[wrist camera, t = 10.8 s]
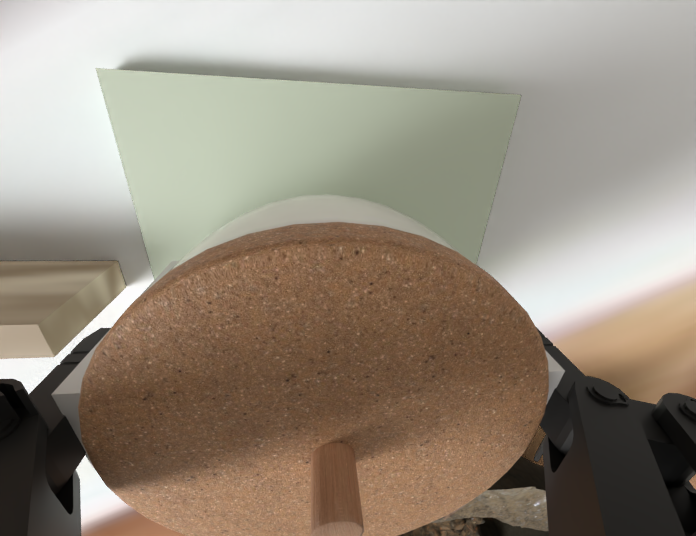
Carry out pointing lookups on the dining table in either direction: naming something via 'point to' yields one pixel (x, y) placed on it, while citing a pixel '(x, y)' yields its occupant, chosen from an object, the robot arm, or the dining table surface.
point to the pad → (302, 151)
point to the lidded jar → (314, 379)
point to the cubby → (51, 303)
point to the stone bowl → (499, 508)
